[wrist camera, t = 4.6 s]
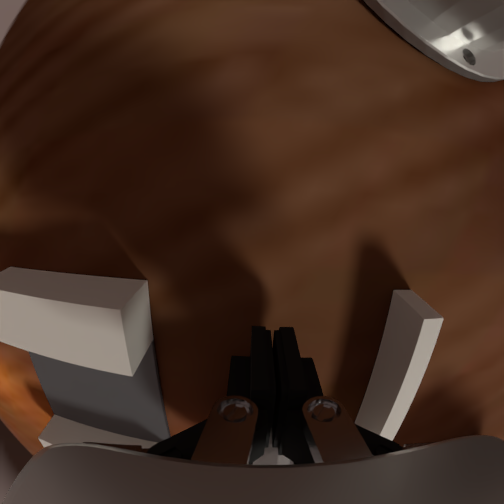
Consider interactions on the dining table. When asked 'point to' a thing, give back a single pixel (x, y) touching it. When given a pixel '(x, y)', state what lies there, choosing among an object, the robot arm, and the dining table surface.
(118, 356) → the u-shaped rail frame
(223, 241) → the dining table surface
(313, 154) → the dining table surface
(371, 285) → the dining table surface
